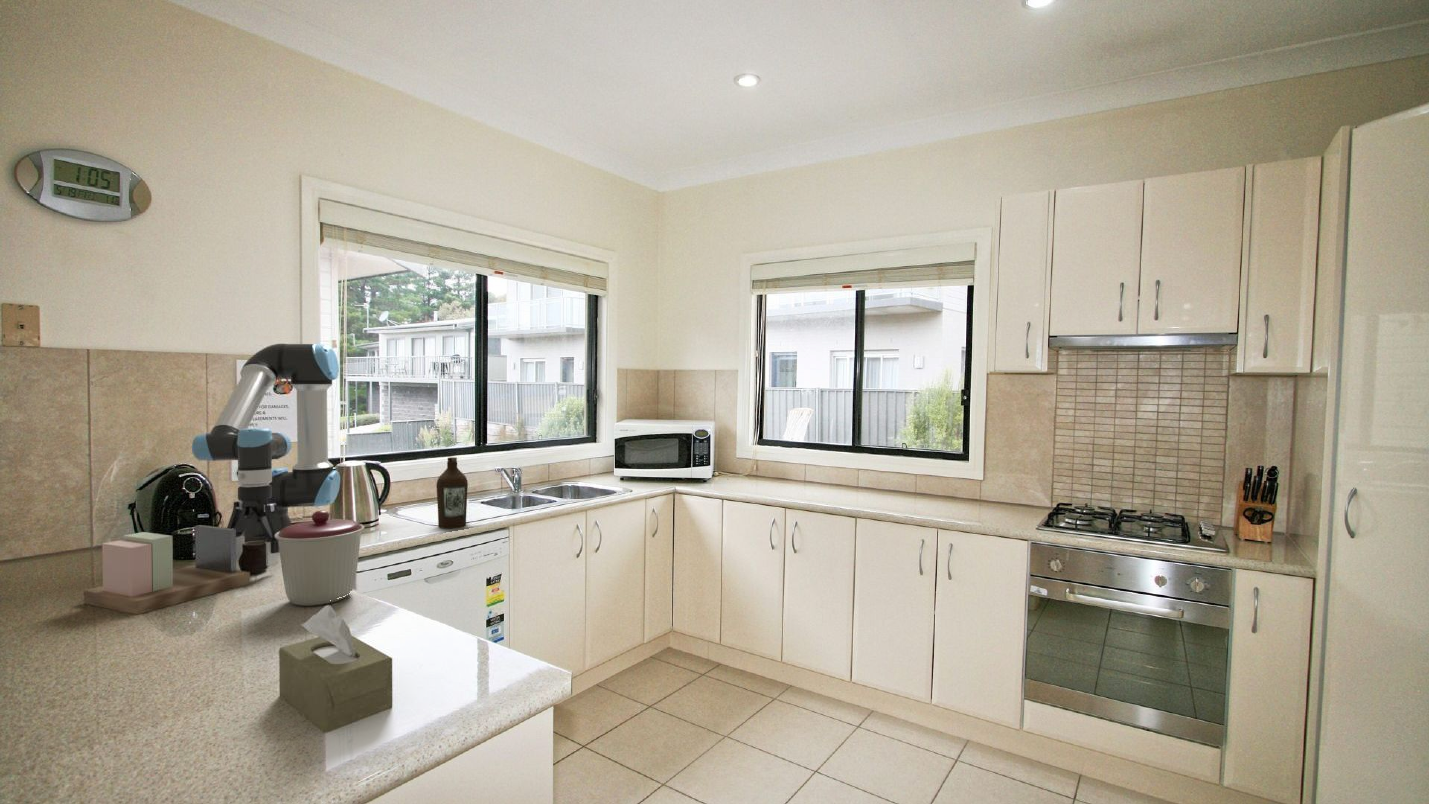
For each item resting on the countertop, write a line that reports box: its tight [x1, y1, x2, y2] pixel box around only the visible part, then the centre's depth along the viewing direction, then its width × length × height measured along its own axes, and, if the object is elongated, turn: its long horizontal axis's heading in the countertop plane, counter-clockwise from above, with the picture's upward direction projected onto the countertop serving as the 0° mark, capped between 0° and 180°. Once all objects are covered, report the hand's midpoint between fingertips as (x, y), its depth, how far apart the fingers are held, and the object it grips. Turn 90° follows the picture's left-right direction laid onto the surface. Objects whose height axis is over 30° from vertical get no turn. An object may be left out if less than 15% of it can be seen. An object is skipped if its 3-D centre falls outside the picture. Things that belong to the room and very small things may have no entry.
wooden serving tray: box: [83, 564, 251, 615], centre depth 155 cm, size 24×20×3 cm
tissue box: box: [278, 604, 393, 734], centre depth 101 cm, size 19×10×16 cm, turn 52°
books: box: [101, 531, 174, 597], centre depth 148 cm, size 8×11×12 cm
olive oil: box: [435, 456, 469, 529], centre depth 233 cm, size 11×11×25 cm
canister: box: [274, 510, 365, 607], centre depth 151 cm, size 18×18×21 cm
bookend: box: [194, 524, 237, 574], centre depth 164 cm, size 1×14×11 cm, turn 69°
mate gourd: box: [237, 538, 270, 575], centre depth 173 cm, size 7×8×10 cm
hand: (255, 562), depth 173 cm, fingers open, 13 cm apart
